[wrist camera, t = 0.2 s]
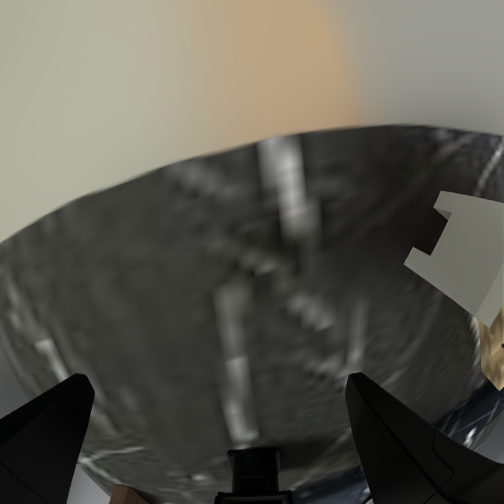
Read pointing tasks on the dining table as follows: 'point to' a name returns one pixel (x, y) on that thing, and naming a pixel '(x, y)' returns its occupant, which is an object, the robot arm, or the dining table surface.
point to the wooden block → (125, 496)
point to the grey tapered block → (467, 255)
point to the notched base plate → (493, 350)
